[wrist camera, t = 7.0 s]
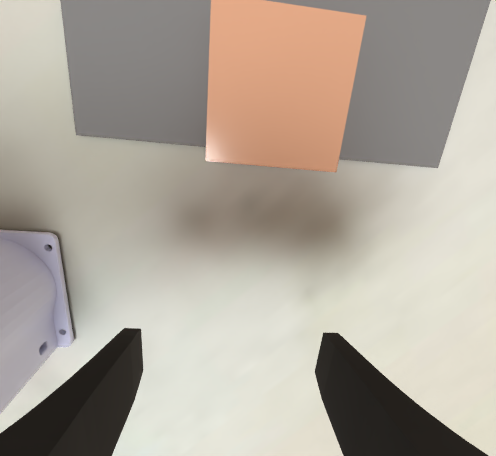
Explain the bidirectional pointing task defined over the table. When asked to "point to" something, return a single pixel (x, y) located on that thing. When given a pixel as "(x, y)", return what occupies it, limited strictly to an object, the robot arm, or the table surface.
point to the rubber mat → (197, 66)
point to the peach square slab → (279, 83)
